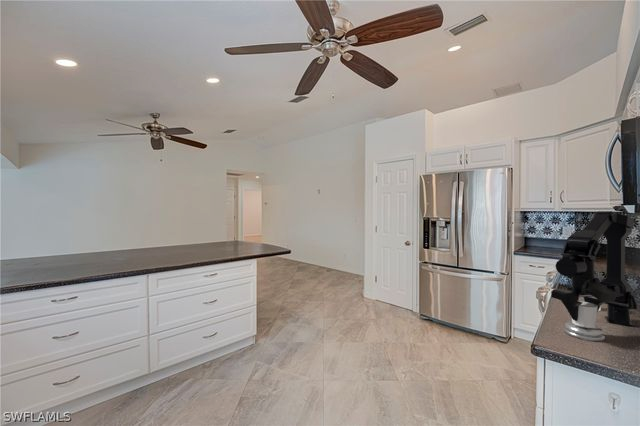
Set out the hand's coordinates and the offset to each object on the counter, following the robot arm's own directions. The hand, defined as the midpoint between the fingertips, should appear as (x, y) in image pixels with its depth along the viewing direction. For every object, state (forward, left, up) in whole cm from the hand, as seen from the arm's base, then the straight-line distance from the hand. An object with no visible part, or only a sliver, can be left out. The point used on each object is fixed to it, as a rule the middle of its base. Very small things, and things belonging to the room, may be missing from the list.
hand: (583, 319), depth 93 cm
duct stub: (0, 0, -5) cm, 5 cm away
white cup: (0, 0, -2) cm, 2 cm away
